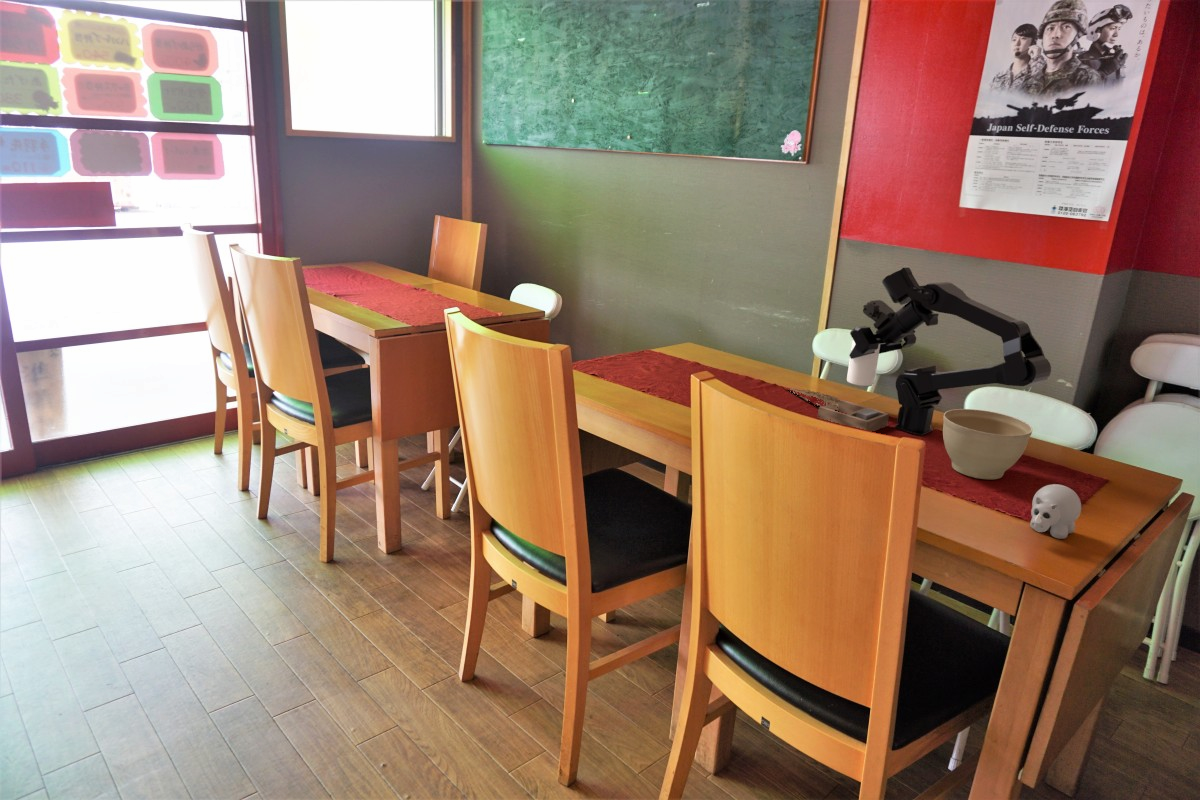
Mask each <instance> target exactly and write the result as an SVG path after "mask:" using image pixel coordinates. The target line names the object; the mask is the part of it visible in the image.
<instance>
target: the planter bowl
mask: <svg viewBox="0 0 1200 800" xmlns="http://www.w3.org/2000/svg"><path fill="white" fill-rule="evenodd" d="M942 418H943V419H942V420H943V425H942V436H943V437H942V438H943V444H944V447H945V451H946V452H947V455H948V456H949V459H950V460H951V468H952V469H953V470H955V472H957V473H960V474H962V475H965V476H968V477H970V478H975V479H981V480H998V479H1001V478H1002V477H1003V476H1004V474H1005V472H1006V471H1008V470H1009V469H1010V468H1011V467H1012V466H1014V465H1015V464H1016V462H1018V461H1019V459H1020V458H1021V457H1022V455H1023V454H1024V452H1025V450H1026V448H1027V446H1028V443H1029V441H1030V437H1031V436H1032V434H1033V428H1032V426H1031V425H1030V424H1029V423H1027V422H1026V421H1023V420H1021V419H1019V418H1018V417H1017V418H1016V417H1013V416H1010V415H1008V414H1007V415H1006V414H1005V413H1004V414H1003V413H1000V412H995V411H990V410H985V409H984V410H982V409H973V408H957V409H956V408H955V409H950V410H949V409H948V410H947V411H945V412H944V413H943V417H942Z"/></svg>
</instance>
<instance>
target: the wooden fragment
mask: <svg viewBox="0 0 1200 800" xmlns="http://www.w3.org/2000/svg"><path fill="white" fill-rule="evenodd" d="M790 390H793V393H794V394H795V392H796V393H797V392H799V393H800V394H801V393H802V394H804V395H806V396H810V397H811V396H813V397H816V398H818V399H819V400H820V399H821V400H823V401H824V404H823V405H825V403H826V406H822V407H825V408H829V409H832V410H837V411H838V408H837V407H839V401H840V400H841V399H839V398H838V397H836V396H833V395H830V394H824V393H820V392H819V391H813V390H810V389H806V390H804V389H796V388H790ZM798 390H799V391H798ZM794 391H795V392H794ZM789 393H791V391H790V392H789ZM793 393H792V394H793ZM794 394H793V395H794ZM797 395H798V393H797ZM797 395H796V396H797ZM798 397H800V398H802V399H803V400H805V401H807V402H808V399H807V398H804V397H802V396H798ZM818 399H817V400H818ZM809 401H810V400H809ZM823 401H822V402H823ZM818 402H819V401H818ZM822 402H821V403H822ZM828 403H829V404H828ZM816 404H817V406H818V405H820V404H818V403H816ZM820 406H821V405H820Z"/></svg>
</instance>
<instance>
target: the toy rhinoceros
mask: <svg viewBox="0 0 1200 800" xmlns="http://www.w3.org/2000/svg"><path fill="white" fill-rule="evenodd" d="M1031 504H1032V507H1031V510H1030V513H1031V517H1032V518H1031V520H1030V523H1029V526H1030V527H1031V528H1032V529H1033V530H1034V531H1035V532H1038V533H1045V532H1046V531H1049V533H1050V535H1051V536H1052V537H1053V538H1055V539H1058V540H1059V539H1060V540H1061V539H1066V538H1068V535H1069V534H1073V533H1074V532H1075V530H1076V529H1075V528H1076V523H1075V522H1076V520H1077V519H1078V518H1079V517H1080V515H1081V512H1082V503H1081V499H1080V497H1079V495H1078V494H1077V493H1076V492H1075V491H1074V489H1072V488H1070V487H1069V486H1065V485H1063V484H1056V483H1053V484H1047V485H1045V486H1042V487H1041V488H1040V489H1038V490H1037V491H1036V492H1035V494H1034V496H1033V497H1032V502H1031ZM1049 529H1050V530H1049Z"/></svg>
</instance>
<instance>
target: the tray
mask: <svg viewBox="0 0 1200 800" xmlns="http://www.w3.org/2000/svg"><path fill="white" fill-rule="evenodd" d="M839 400H840V401H839V407H838V411H841V412H844V413H841V412H838V411H835V410H832V409H829V408H825V407H822V406H820V407H818V410H817V411H818V412H817V418H820V419H824V420H828V421H831V422H835V423H839V424H843V425H848V426H851V427H856V428H860V429H864V430H868V431H873V432H875V431H877V430H880V428H881V429H883V428H885V427H884V426H886V427H887V426H888V424H889V419H890V413H887V412H884V411H881V410H877V409H874V408H870V407H868V406H865V405H861V404H857V403H854V402H851V401H848V400H844V399H839ZM867 409H872V410H875V411H878V412H879V416H877V417H875V418H872V419H869V420H864V419H861V418H857V417H856V414H857V412H860V411H863V410H867ZM845 413H847V414H845ZM818 416H820V417H818ZM817 418H816V419H817ZM830 419H831V420H830ZM882 427H883V428H882Z"/></svg>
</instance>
